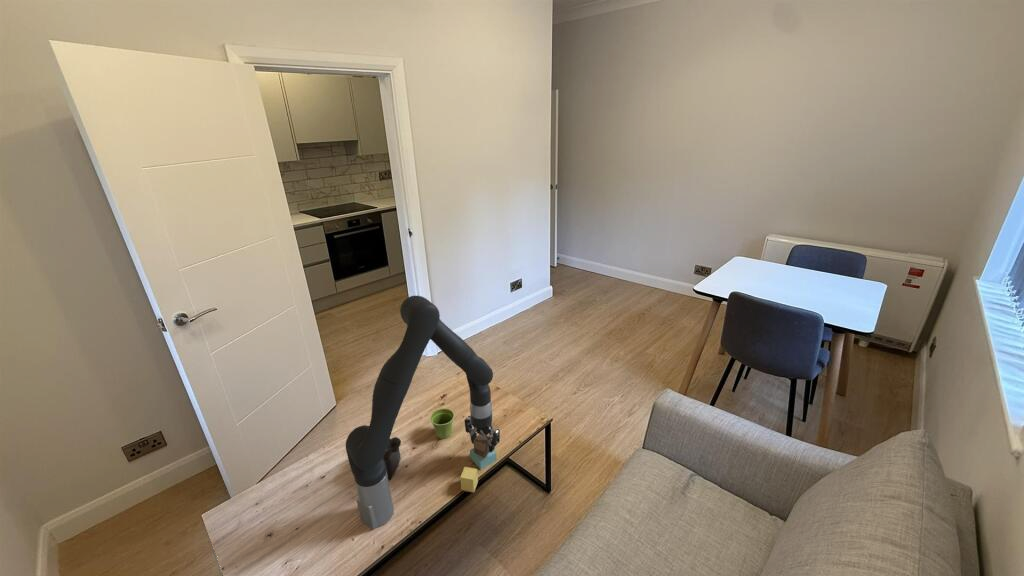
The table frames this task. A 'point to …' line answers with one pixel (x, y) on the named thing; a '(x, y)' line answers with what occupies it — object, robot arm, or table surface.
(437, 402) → the table surface
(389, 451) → the dark brown ornament
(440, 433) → the plant pot
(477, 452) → the walnut block
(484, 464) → the teal plinth block
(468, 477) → the mustard block
